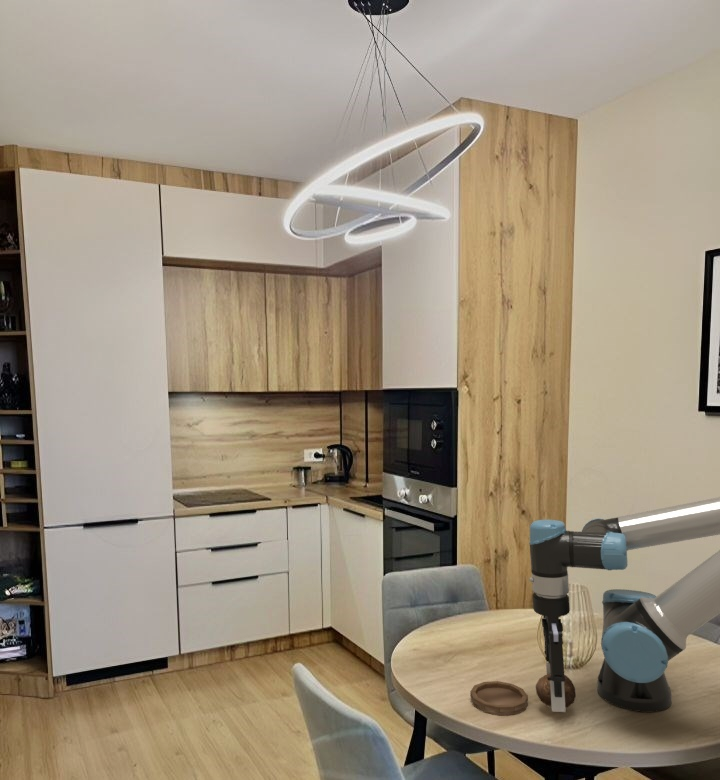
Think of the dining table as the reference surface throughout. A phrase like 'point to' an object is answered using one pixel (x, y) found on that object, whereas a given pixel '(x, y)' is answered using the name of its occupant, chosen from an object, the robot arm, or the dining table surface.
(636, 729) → the dining table surface
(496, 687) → the tray
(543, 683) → the brown ball
